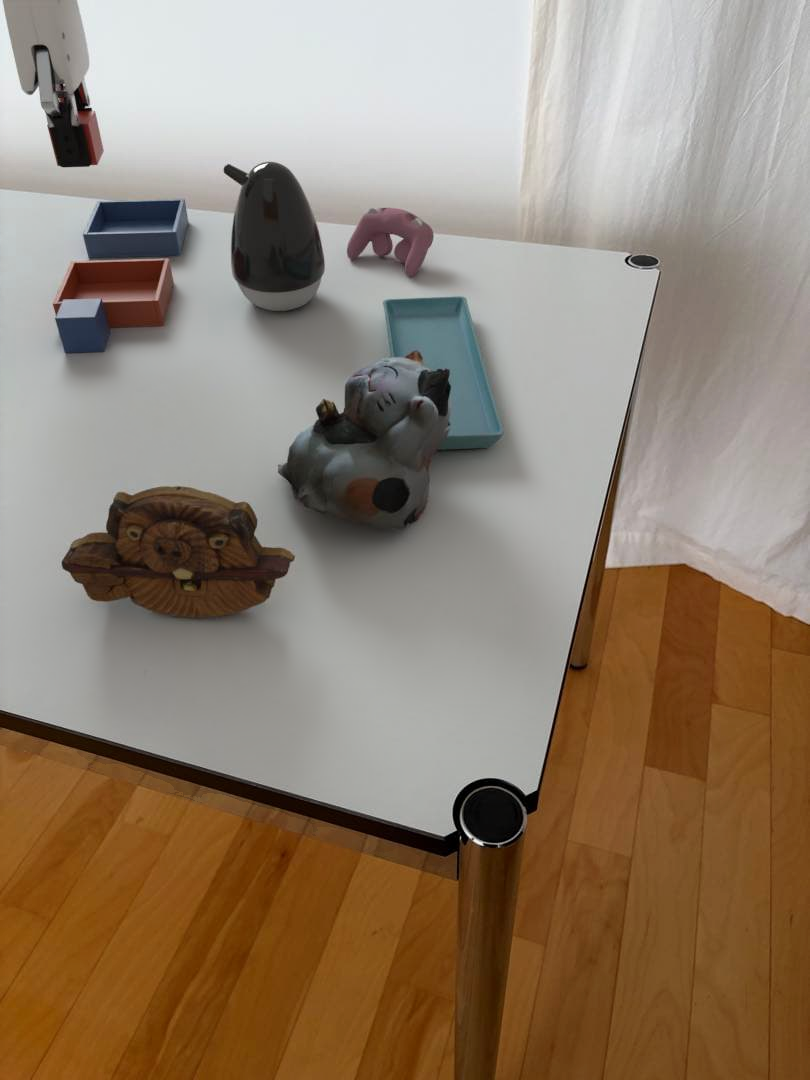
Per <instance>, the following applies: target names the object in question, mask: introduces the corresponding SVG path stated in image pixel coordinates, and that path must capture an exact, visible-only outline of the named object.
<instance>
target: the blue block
mask: <svg viewBox="0 0 810 1080" xmlns="http://www.w3.org/2000/svg"><path fill="white" fill-rule="evenodd" d="M54 320H55V324H56V327H57V330H58V334H59V338H60V341H61V344H62V347H63V351H64V354H72V353H103V352H105V349H106V347H107V346H106V345H107V343H108V339H109V336H110V333H111V331H110V327H109V326H108V322H107V318H106V314H105V310H104V306H103V302H102V299H70V300H63V301H62V303H61V306H60V308H59V310H58V313H57V315H56V314H55V318H54Z"/></svg>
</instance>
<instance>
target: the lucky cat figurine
mask: <svg viewBox="0 0 810 1080" xmlns="http://www.w3.org/2000/svg"><path fill="white" fill-rule="evenodd" d="M449 375H450V370H449V369H437V370H436V371H432V370H430V369H429V368H427V367H425V366H424V365H423V358H422V356H421V353H420V352H419V351H417V350H415V351H413V352H411V353H410V354H409V355H407V356H406V357H404V358H403V357H393V358H391V357H382V358H381V359H380V360H379V361H377V362H375V363H373V364H370V365H369V364H368V365H365V366H362V367H360V368H359V369H358V370H357V371H355V372H354V373H353V374H352V375H351V376H350V377H349V378H348V379H347V381H346V383H345V385H344V408H343V411H342V412H341V413H339V410H338V408H337V406H336V404H335V403H334V401H333V400H331V399H326V398H323V399H322V400H321V401H320V402H319V404H318V405H317V406H316V407H315V412H316V416H317V418H318V419H316V421H315V422H314V424H313V425H311V426H309V427H308V428H306V429H305V430H303V431H300V432H299V433H298V435H296V438H295V439H294V441H293V442H292V443H291V445H290V446H289V449H288V454H287V460H286V462H285V463H282V464H277V473H278V475H280V476H281V477H282V478H284V479H285V480H286V482H287V483H288V484H289V485H290V486H291V489H292V492H293V494H294V499H295V500H296V501H298V502H299V503H301V504H303V505H304V507H306V508H307V509H308V508H309V509H311V510H313V511H315V512H318V513H320V514H321V513H322V514H325V515H329V516H334V517H337V518H341V519H345V520H346V519H347V520H350V521H356V522H360V523H363V524H368V525H370V526H372V527H376V528H380V529H381V528H382V529H395V530H404V529H405V528H406V527H407V525H408V524H409V525H410V524H412V523H414V522H417V521H418V519H419V518H420V516H421V515H422V514H423V513H424V511H425V510H426V507H427V505H428V502H429V500H428V498H429V492H430V481H431V479H430V473H429V472H430V470H429V469H430V464H431V462H432V459H433V457H434V455H435V453H436V452H437V451H438V450H437V449H438V448H439V446H440V445H441V444H442V442H443V441H444V440H445V439H446V437H447V435H448V433H449V430H450V427H451V424H450V422H449V417H450V413H451V405H450V402H449V395H450V391H451V385H450V383H449V381H448V379H449Z"/></svg>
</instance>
